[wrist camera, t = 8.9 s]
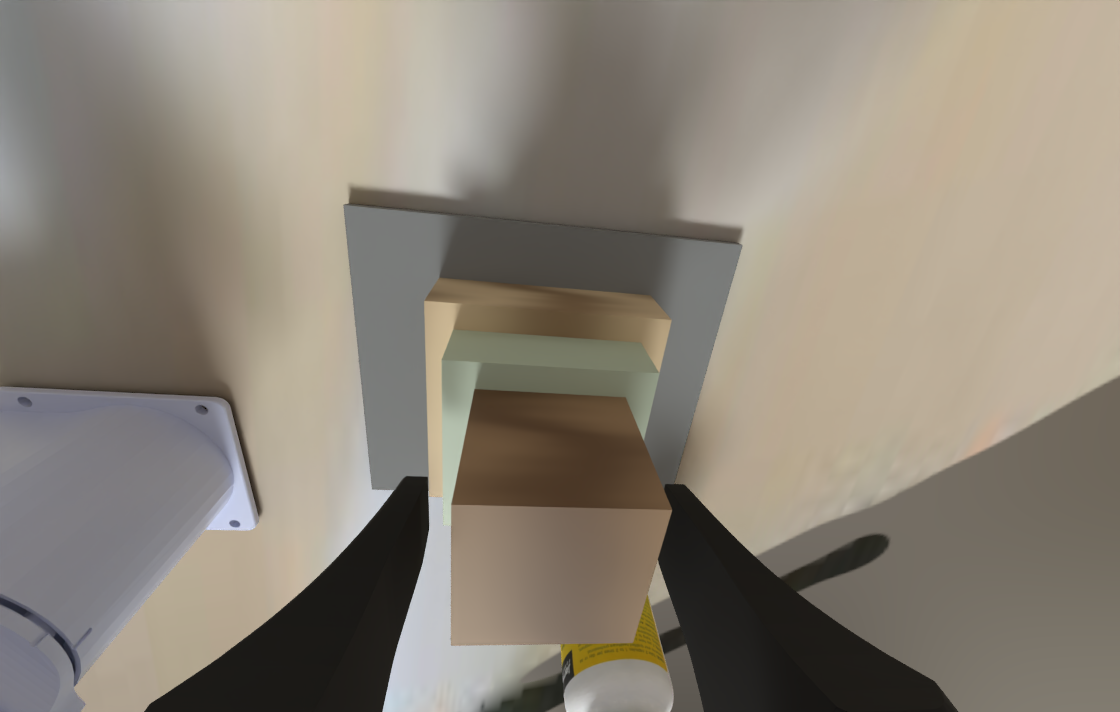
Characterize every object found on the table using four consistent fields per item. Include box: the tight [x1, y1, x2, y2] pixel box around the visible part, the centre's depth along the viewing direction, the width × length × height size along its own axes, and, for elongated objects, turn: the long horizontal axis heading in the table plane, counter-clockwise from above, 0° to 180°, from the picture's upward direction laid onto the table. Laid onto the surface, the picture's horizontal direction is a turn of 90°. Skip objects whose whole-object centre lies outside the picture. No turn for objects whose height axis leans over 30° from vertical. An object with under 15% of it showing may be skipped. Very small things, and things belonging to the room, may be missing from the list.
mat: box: [344, 204, 742, 491], centre depth 20 cm, size 16×14×1 cm
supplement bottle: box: [561, 594, 674, 712], centre depth 23 cm, size 5×5×10 cm
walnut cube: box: [451, 389, 672, 646], centre depth 13 cm, size 5×5×5 cm
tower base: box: [424, 278, 672, 497], centre depth 19 cm, size 9×9×3 cm
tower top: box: [442, 329, 660, 526], centre depth 16 cm, size 7×7×2 cm
